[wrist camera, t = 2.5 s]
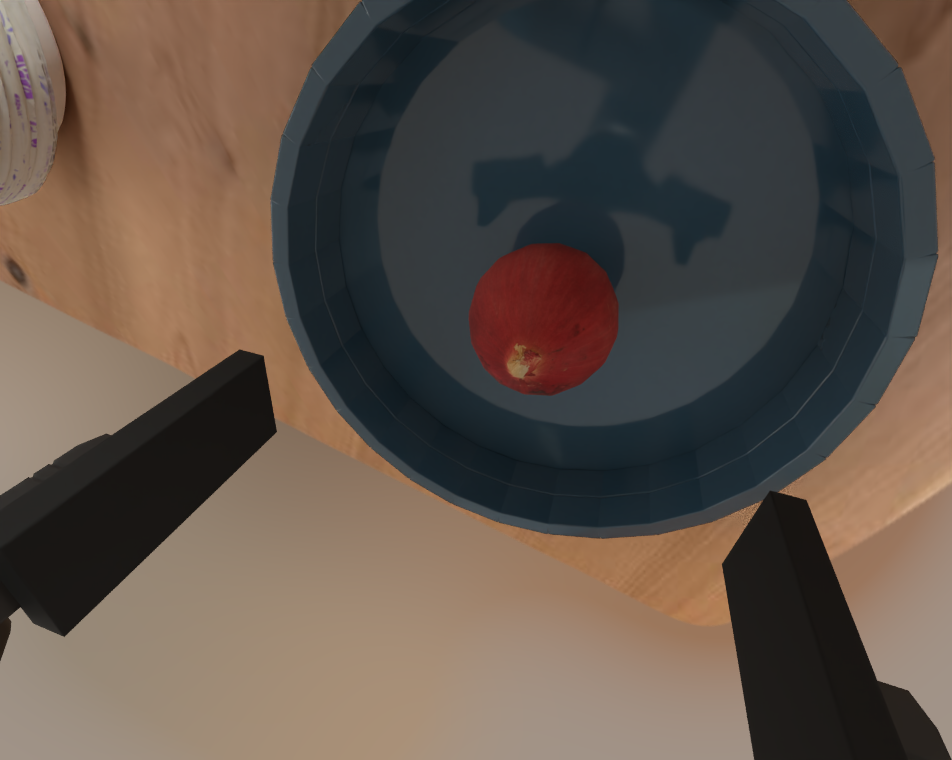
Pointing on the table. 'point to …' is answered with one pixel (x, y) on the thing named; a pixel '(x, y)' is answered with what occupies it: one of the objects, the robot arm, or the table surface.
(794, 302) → the bowl
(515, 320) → the onion
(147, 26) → the table surface
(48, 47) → the paper bowls
